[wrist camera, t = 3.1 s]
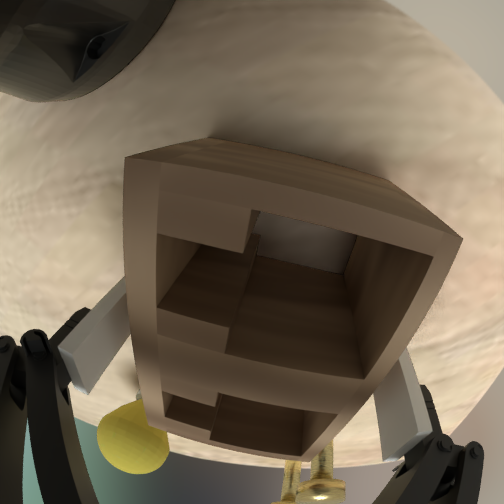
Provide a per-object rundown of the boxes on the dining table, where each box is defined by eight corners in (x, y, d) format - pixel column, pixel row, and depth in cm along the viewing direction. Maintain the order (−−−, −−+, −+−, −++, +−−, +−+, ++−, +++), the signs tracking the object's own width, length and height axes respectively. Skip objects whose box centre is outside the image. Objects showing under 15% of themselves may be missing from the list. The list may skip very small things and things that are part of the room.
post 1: (284, 425, 25) (273, 513, 16) (316, 429, 24) (311, 515, 15) (276, 437, 26) (264, 517, 17) (305, 441, 26) (299, 520, 17)
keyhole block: (207, 137, 14) (124, 157, 7) (389, 180, 14) (463, 238, 7) (187, 342, 21) (148, 425, 14) (312, 371, 20) (309, 462, 13)
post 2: (310, 381, 21) (304, 495, 12) (348, 386, 21) (354, 496, 12) (298, 402, 23) (289, 504, 14) (333, 407, 22) (332, 506, 13)
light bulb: (164, 364, 23) (118, 456, 14) (201, 407, 25) (172, 491, 16) (116, 368, 25) (71, 441, 16) (152, 407, 27) (120, 477, 18)
